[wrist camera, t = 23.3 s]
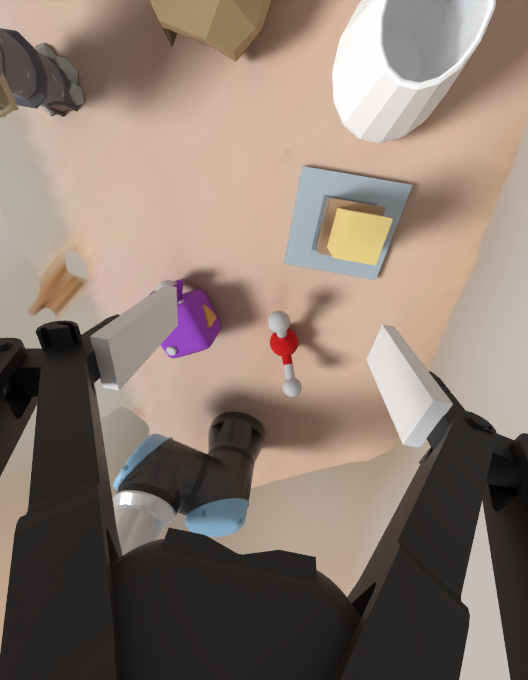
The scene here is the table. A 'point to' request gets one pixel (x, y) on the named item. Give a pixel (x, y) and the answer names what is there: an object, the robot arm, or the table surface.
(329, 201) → the walnut block
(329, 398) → the table surface
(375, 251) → the mustard block
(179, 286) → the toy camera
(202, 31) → the low-poly potato
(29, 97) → the model tower
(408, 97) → the white faceted vase
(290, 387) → the molecular model
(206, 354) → the table surface
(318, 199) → the plate
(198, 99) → the table surface
